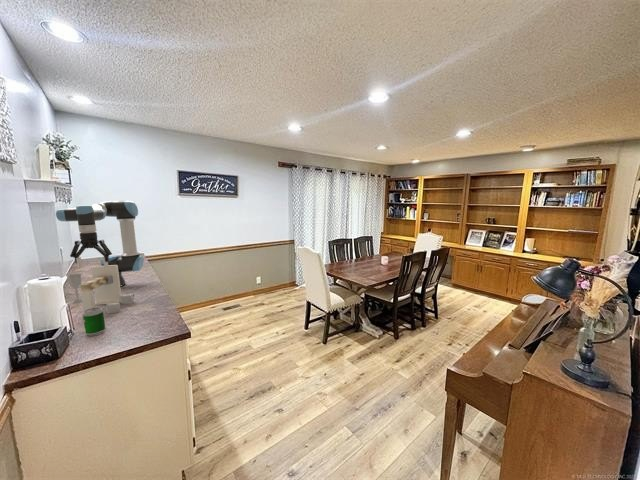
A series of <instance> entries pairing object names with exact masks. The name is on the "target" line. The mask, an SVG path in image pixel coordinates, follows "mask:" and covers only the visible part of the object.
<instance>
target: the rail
mask: <svg viewBox="0 0 640 480" xmlns="http://www.w3.org/2000/svg"><path fill="white" fill-rule="evenodd" d="M107 277H108V276H99V277H97V278H95V279H93V278H92V279H90V280H88V281H85V282H84V283H81V284H80V287H79V288H80V292H84V291H91V290H93V291H94V289H95V288H97V287H99V286H101V285H103V284H105V283H107V282H108V280H107Z"/></svg>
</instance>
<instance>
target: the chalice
mask: <svg viewBox="0 0 640 480" xmlns="http://www.w3.org/2000/svg"><path fill="white" fill-rule="evenodd" d="M66 277H67V280H68V285H69V286H70V287H71V288H72V289H73V290H74V293H75V298H74V299H73V302H72V303H73V304H78V303H83V300H82V297H79V294H80V293H79V291H78V289H79V288H81V287H80V285H81V284H82V273H80V272H79V273H78V272H77V273H71V274H66Z"/></svg>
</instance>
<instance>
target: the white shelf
mask: <svg viewBox="0 0 640 480" xmlns="http://www.w3.org/2000/svg"><path fill="white" fill-rule="evenodd" d="M90 268H91V273H92V279H95V278H97V277H99V276H108V277H107V280H108V282H107V283H105V284H103V285H101V286H99V287H97V288H95V289H93V290H91V291H84V292H81V291H80V292H81V299H82V300H83V301H82V306H83V313H84V312H85V311H86V310H88V309H91V308H96V306H97V305H99V306H100V305H107V304H108V303H120V304H121V298H120V296H121V295H122V289H121V287H122V286H121V287H120V279H119V271H118V265H108V267H106V268H104V266H101V265H92V266H90Z"/></svg>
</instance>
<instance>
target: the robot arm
mask: <svg viewBox="0 0 640 480" xmlns="http://www.w3.org/2000/svg"><path fill="white" fill-rule="evenodd" d="M55 212H56V213H55V216H56V219H57V220H58V221H60V222H77V225H78V231H79V239H80V240H75V241H74V246H73V249H72V250H71V253H70V255H69V257H70V258H74V263H75V264H76V266H77V269H78V270H81V269H83V268H84V267H83V263H82V257H81V255H82V254H83V252H84V251H85V250H86V249H94V250H97V252H98V253H100V254H101V255H102V258H101V259H100V266H104V268H106V267H108V265H118V271H119V279H120V286H121V285H124V284H125V283H126V280H125V277H124V276H123V274H122V273H128V272H129V273H130V272H131V273H133V272H139V271H141V270H142V269H143V266H144V262H145V261H144V257H143V256H142V255H140V252H138V249H137V241H136V240H137V239H136V233H135V223H134V221H135V220H136V217H138V215H139V209H138V205H137V204H136V203H135V202H134V201H133V200H107V201H102V202H97V203H93V204H92V205H88V204H87V205H85V204H84V205H76V206H75V207H73V208H60V209H59V208H58V209H57V210H56V211H55ZM106 217H114V218H116V220H117V221H118V222H119V227H120V229H119V230H120V236H121V245H122V252H123V253H121V254H114V255H113V253H112V251H111V249H109V247H108V246H107V245H106V242H105V240H104V239H101V240H99V239H98V233H97V225H96V221H102V220H104V219H105V218H106ZM80 245H81V246H80ZM79 248H80V249H79ZM125 285H126V284H125ZM125 285H124V286H125ZM121 287H122V286H121Z"/></svg>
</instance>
